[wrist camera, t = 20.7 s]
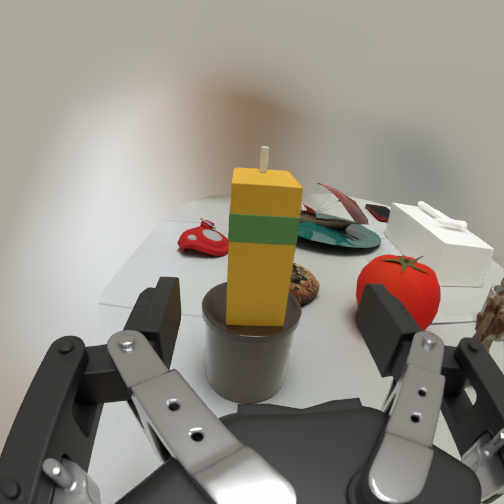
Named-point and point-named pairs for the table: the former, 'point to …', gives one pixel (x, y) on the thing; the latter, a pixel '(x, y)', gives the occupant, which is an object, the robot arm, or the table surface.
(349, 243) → the boat on round base
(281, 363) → the coffee cup
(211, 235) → the tracker holder
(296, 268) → the bread roll
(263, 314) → the juice packet
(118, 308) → the table surface
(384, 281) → the tomato
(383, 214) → the cell phone
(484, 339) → the figurine
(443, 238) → the tissue box
